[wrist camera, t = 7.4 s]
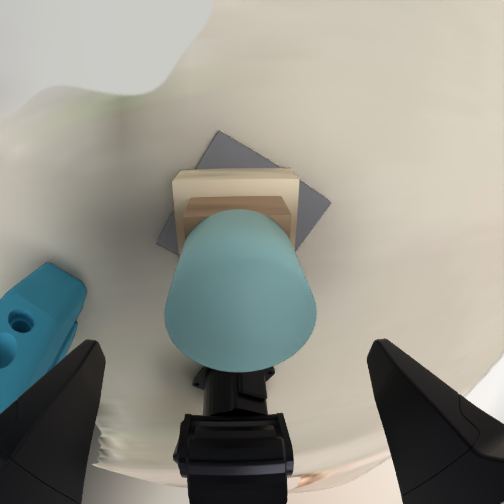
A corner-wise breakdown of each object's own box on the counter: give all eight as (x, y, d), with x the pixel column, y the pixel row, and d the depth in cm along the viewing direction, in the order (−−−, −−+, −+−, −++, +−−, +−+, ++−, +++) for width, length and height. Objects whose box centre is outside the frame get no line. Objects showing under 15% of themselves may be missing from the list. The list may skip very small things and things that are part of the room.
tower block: (277, 272, 18) (284, 301, 16) (197, 274, 18) (192, 304, 15) (281, 196, 16) (291, 214, 13) (191, 197, 16) (182, 216, 13)
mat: (260, 291, 23) (261, 295, 23) (157, 240, 21) (155, 243, 20) (328, 200, 20) (331, 202, 19) (219, 130, 17) (218, 131, 17)
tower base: (284, 262, 21) (291, 285, 19) (189, 265, 21) (183, 288, 18) (289, 168, 18) (299, 179, 16) (180, 170, 18) (171, 181, 15)
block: (47, 243, 20) (-89, 435, 2) (93, 271, 21) (-15, 497, 4) (35, 327, 24) (-35, 476, 7) (71, 349, 26) (14, 508, 8)
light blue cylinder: (298, 297, 16) (317, 359, 12) (197, 314, 16) (190, 378, 12) (287, 199, 13) (312, 243, 9) (167, 222, 13) (142, 273, 9)
